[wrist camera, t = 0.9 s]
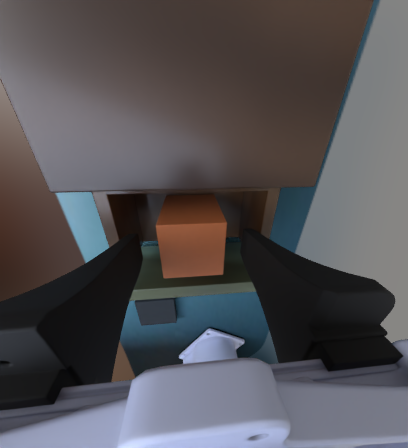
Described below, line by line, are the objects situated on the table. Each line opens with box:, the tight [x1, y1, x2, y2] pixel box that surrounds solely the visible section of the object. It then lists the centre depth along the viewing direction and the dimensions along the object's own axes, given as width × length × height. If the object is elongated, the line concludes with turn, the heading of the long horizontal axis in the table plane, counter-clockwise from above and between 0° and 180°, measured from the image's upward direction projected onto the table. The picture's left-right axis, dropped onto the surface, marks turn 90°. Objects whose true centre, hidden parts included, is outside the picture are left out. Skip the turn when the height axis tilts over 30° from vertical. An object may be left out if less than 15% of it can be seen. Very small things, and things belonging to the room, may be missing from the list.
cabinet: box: [0, 0, 374, 193], centre depth 9 cm, size 11×14×8 cm
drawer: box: [92, 187, 281, 301], centre depth 14 cm, size 11×12×6 cm
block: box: [156, 194, 227, 278], centre depth 13 cm, size 4×4×5 cm
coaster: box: [135, 297, 177, 326], centre depth 24 cm, size 5×5×1 cm
